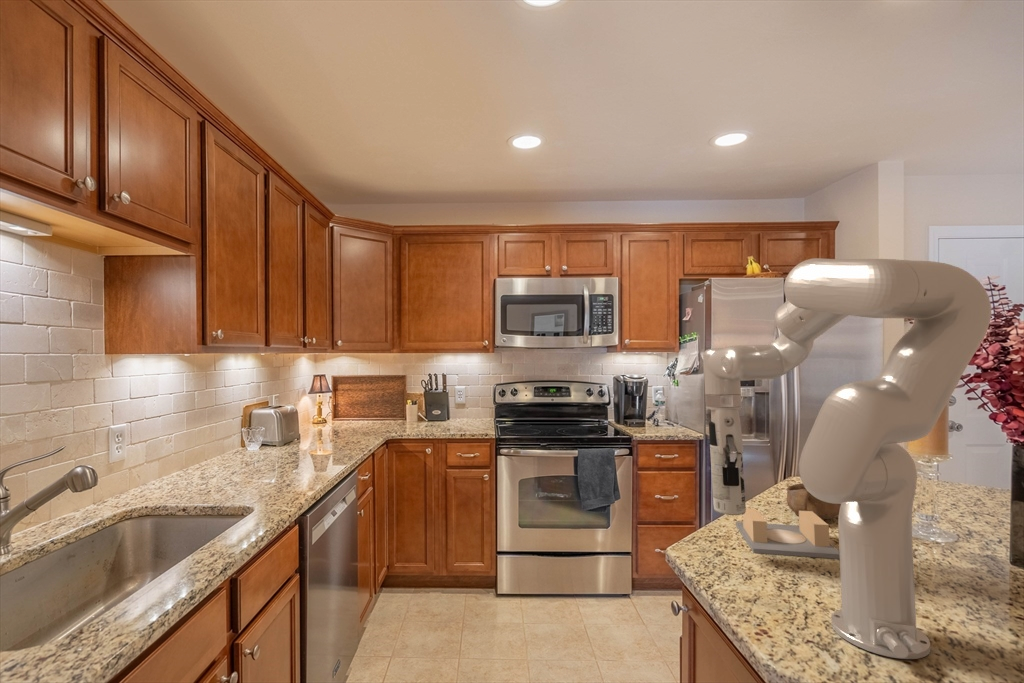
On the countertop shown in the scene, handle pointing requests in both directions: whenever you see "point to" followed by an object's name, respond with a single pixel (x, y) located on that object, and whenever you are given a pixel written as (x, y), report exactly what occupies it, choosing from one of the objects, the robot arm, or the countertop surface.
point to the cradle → (788, 536)
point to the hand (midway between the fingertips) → (727, 481)
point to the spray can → (724, 497)
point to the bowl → (809, 503)
